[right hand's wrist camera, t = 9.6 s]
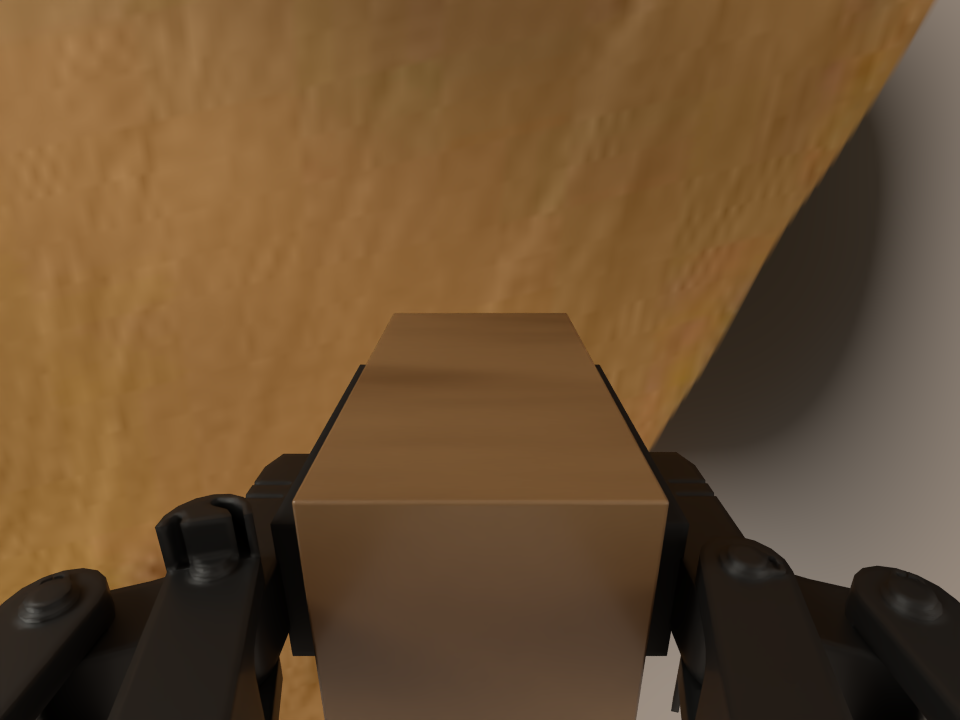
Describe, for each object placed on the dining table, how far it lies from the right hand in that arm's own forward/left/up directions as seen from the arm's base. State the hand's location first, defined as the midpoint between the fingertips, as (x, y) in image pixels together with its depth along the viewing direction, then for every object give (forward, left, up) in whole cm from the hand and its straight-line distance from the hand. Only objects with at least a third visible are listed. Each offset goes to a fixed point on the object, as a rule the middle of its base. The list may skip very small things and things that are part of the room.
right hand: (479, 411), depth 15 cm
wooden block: (0, 0, -1) cm, 1 cm away
